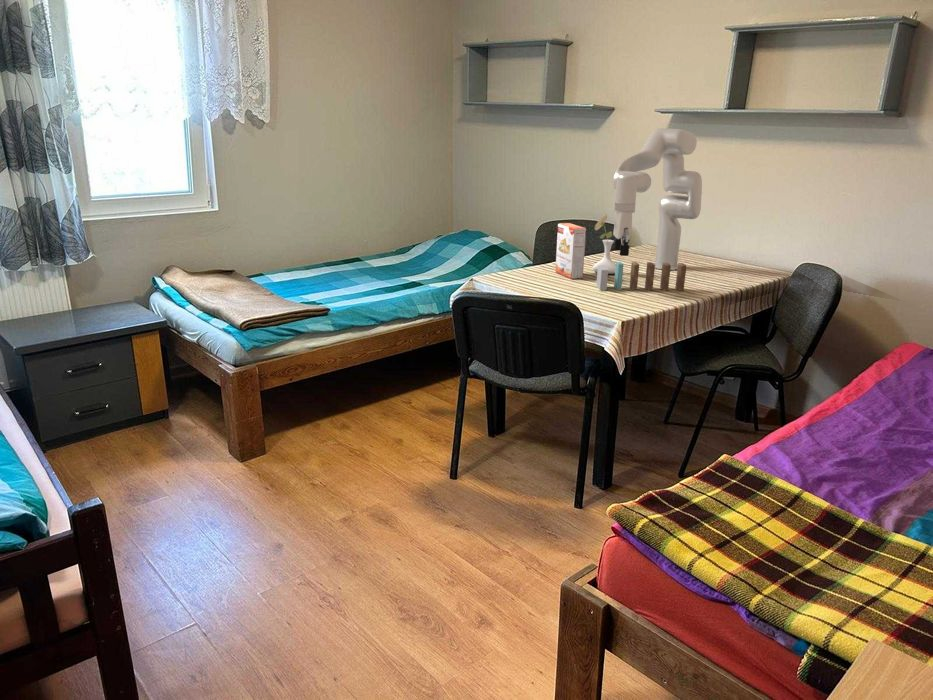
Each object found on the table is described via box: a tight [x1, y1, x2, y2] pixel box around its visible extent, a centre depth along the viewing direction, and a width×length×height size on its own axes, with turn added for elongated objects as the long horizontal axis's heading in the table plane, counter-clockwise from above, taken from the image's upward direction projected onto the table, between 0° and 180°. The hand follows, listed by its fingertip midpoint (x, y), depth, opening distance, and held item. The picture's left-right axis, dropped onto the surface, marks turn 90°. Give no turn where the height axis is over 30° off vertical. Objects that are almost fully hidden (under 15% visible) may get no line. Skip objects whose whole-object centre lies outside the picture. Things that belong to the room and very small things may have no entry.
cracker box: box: [555, 222, 587, 280], centre depth 295 cm, size 14×6×21 cm, turn 21°
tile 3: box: [644, 261, 656, 291], centre depth 276 cm, size 2×5×10 cm, turn 0°
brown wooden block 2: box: [674, 262, 687, 292], centre depth 276 cm, size 2×5×10 cm, turn 0°
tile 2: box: [659, 263, 671, 292], centre depth 276 cm, size 2×5×10 cm, turn 0°
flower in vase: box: [591, 214, 616, 275], centre depth 300 cm, size 13×11×25 cm
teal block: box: [613, 261, 624, 291], centre depth 276 cm, size 2×5×10 cm, turn 0°
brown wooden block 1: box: [629, 261, 640, 291], centre depth 276 cm, size 2×5×10 cm, turn 0°
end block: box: [596, 266, 609, 291], centre depth 276 cm, size 8×2×8 cm, turn 0°
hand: (621, 252), depth 273 cm, fingers open, 9 cm apart
